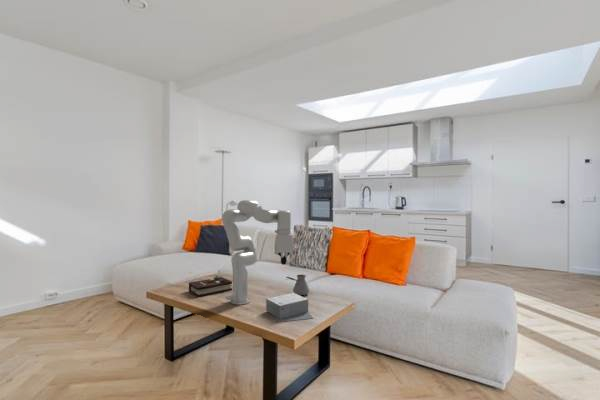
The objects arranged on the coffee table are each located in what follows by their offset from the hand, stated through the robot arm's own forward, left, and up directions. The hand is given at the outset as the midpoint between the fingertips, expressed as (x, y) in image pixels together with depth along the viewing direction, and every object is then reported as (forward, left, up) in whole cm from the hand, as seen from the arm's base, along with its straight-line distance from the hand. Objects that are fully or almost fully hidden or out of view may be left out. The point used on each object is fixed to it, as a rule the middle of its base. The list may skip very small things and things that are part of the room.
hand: (283, 264), depth 178 cm
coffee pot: (+16, +31, -29) cm, 46 cm away
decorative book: (-40, +58, -30) cm, 77 cm away
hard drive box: (-7, 0, -25) cm, 26 cm away
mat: (+5, -1, -29) cm, 29 cm away
